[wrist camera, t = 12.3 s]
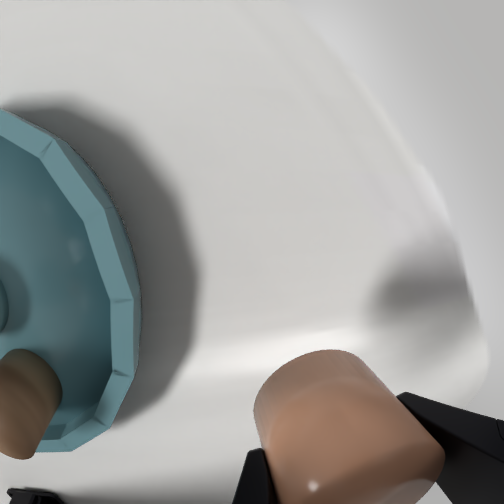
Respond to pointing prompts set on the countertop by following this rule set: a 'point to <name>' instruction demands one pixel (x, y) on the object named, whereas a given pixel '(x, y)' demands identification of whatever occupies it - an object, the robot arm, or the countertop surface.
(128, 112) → the countertop surface
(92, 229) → the teal round plate
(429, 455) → the bead terracotta
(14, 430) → the bead walnut
